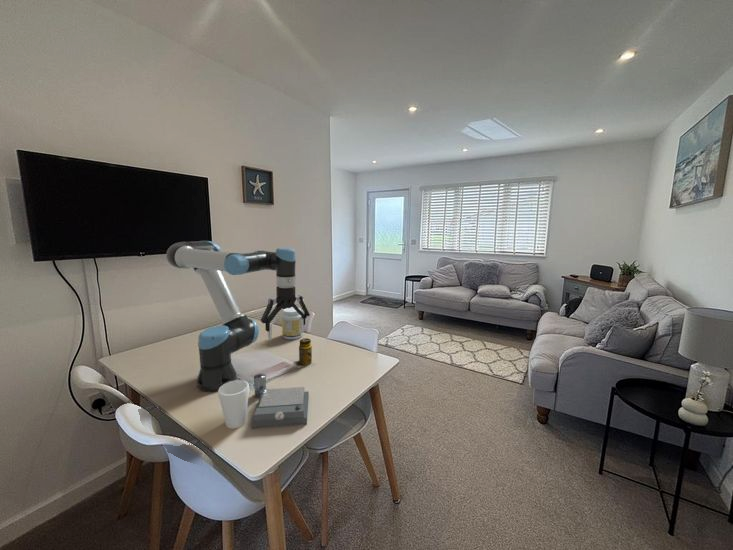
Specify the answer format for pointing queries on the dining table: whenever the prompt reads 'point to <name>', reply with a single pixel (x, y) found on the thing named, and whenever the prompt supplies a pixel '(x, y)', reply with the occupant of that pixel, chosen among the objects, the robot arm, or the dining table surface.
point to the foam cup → (234, 402)
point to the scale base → (281, 415)
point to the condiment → (304, 353)
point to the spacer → (259, 384)
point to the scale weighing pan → (282, 397)
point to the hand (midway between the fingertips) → (286, 335)
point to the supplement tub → (291, 324)
